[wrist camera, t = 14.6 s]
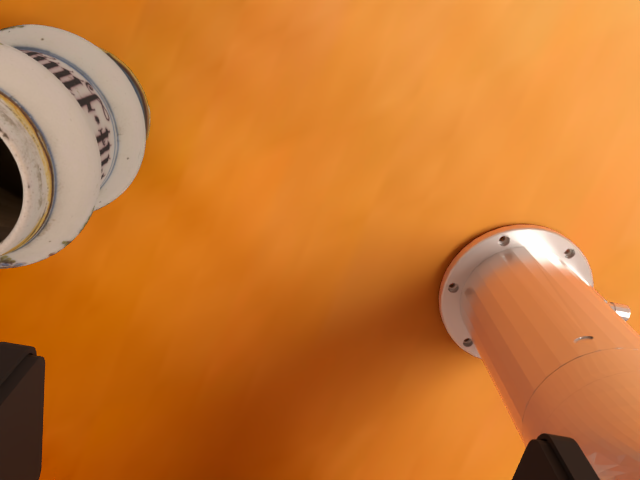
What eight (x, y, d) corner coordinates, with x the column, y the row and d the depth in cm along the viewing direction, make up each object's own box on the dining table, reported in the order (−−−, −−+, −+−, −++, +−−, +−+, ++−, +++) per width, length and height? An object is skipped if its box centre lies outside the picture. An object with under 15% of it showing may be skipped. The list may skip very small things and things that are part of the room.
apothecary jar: (129, 217, 44) (19, 341, 27) (-23, 144, 41) (-247, 231, 25) (192, 78, 40) (108, 123, 23) (28, -11, 38) (-197, -32, 21)
